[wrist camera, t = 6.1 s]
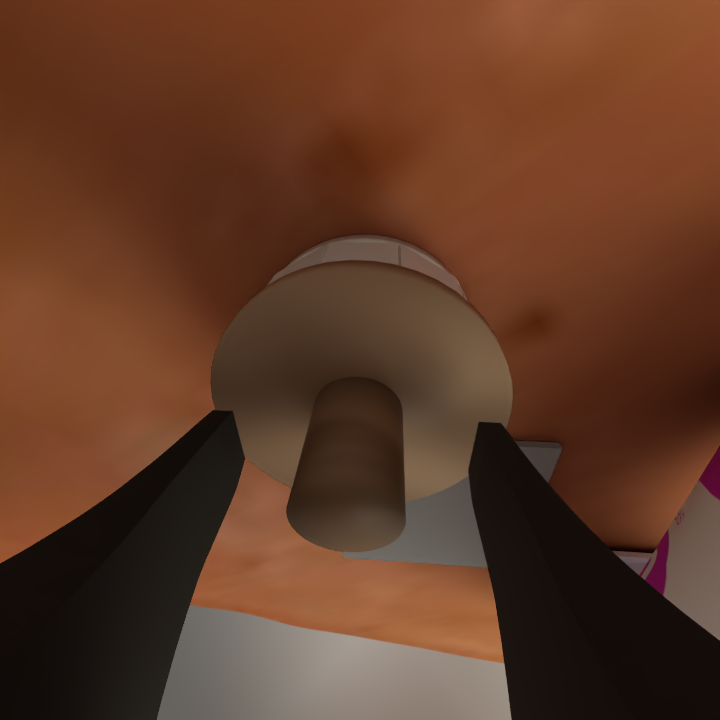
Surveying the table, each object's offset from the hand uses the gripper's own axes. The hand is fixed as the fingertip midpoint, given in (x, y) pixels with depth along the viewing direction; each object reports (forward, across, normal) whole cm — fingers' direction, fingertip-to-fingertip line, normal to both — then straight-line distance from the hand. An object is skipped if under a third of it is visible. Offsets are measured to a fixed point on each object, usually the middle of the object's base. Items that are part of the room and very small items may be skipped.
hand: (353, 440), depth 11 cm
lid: (+2, 0, 0) cm, 2 cm away
